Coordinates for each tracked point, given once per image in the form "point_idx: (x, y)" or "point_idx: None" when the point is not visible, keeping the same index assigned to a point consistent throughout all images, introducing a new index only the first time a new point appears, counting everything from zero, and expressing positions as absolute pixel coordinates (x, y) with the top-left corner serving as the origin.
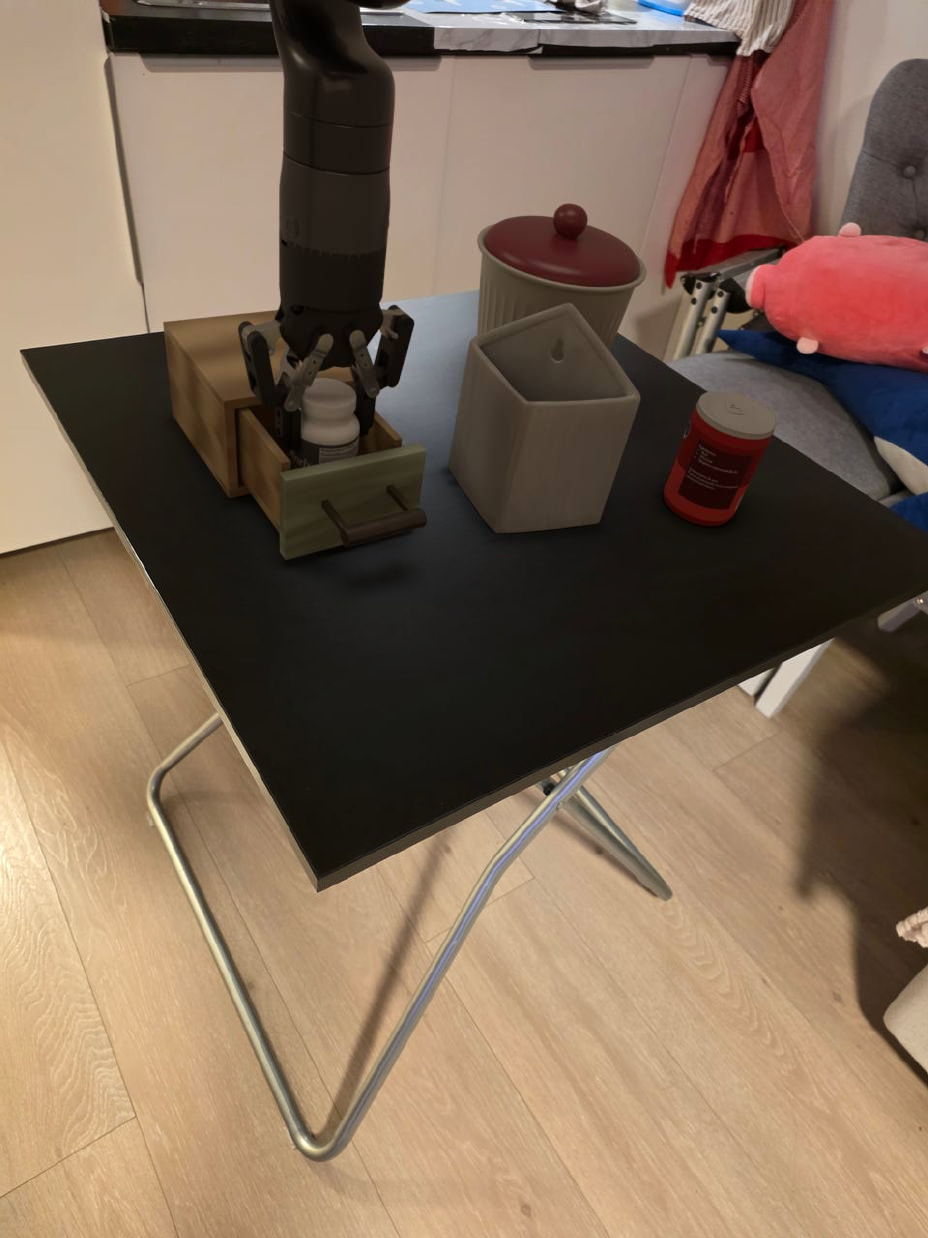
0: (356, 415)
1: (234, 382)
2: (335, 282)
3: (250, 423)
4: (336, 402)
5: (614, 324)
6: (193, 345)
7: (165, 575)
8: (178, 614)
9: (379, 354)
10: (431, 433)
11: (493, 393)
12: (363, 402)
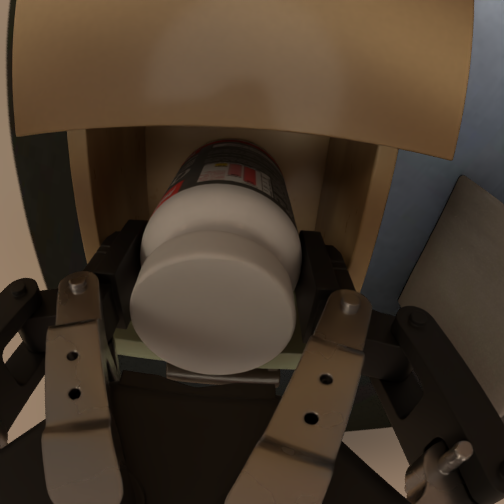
0: (301, 276)
1: (58, 50)
2: None
3: (72, 179)
4: (210, 364)
5: None
6: None
7: (32, 212)
8: (40, 263)
9: (416, 372)
10: (495, 98)
11: (500, 377)
12: (302, 335)
